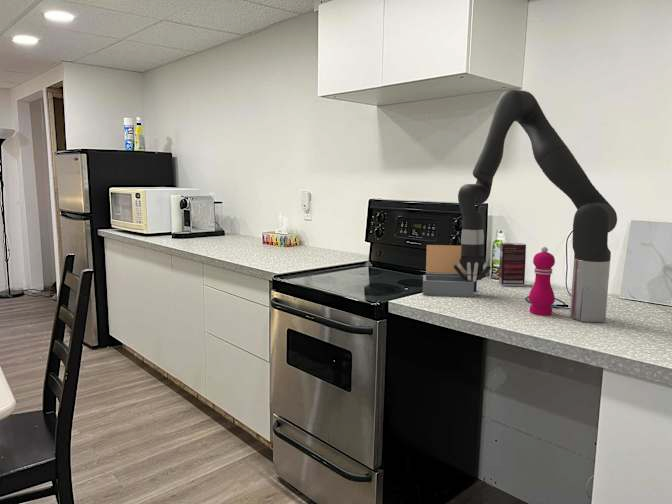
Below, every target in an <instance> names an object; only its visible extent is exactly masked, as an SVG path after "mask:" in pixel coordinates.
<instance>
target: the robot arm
mask: <svg viewBox="0 0 672 504" xmlns="http://www.w3.org/2000/svg"><path fill="white" fill-rule="evenodd" d="M514 122H517V123H518V124H519V125H520V127H522V129H523V130H524V131H525V133H526V134H527V136H528V137H529V140H530V144H531V148H532V154H533V158H534V159H535V162H536V163H537V165H538V166H539V168H540V169H541V171H542V172H543V174H544V175H545V176H546V178H548V180H549V181H550V182H551V183H552V184H553V185H554V187H555V186H556V188H558V189H559V190H560V191H561V192H562V193H563V194H565V196H567V197H568V198H569V199H570V200H571V202H572V203H573V205H574V207H575V208H576V212H575V214H574V216H573V222H572V250H573V252H574V253H573V271H572V283H571V294H570V295H571V296H570V297H571V298H570V309H569V310H570V311H569V312H570V313H569V317H571V318H572V319H575V320H577V321H580V322H586V323H605V322H606V319H607V304H608V294H609V293H608V291H609V278H610V270H611V269H610V267H611V257H612V256H611V254H612V253H611V250H610V249H609V246H608V241H609V239H608V238H609V237H608V236H609V233H611V232H612V231H614V229H615V228H616V226H617V223H618V216H617V212H616V209H615V208H614V207H613V206H612V205H611V204H610V203H609V202H608V200H606V198H605V197H604V196H603V195H602V194H601V193H600V192H599V190H598V189H597V188H596V186H594V185H593V183H592V182H591V180H590V179H589V177H588V176H587V174H586V172H585V171H584V169H583V168H582V166H581V165H580V163H579V162H578V161H577V159H576V157H575V155H574V154H573V153H572V151H571V150H570V149H569V147H568V145H566V143H565V142H564V140H562V138H561V137H560V135H559V134H558V133H557V131H556V130H555V128H554V127H553V126H552V124H551V123H550V122H549V120H548V118H547V117H546V115H545V113H544V111H543V109H542V107H541V106H540V103H539V102H538V101H537V99H536V97H535V96H534V94H532V93H531V92H530V91H526V90H521V89H520V90H519V89H509V90H506V91H505V92H503V93H502V94H501V95H500V97H499V98H498V100H497V103H496V105H495V109H494V112H493V115H492V120H491V123H490V125H489V130H488V133H487V136H486V139H485V142H484V145H483V148H482V150H481V153H480V155H479V157H478V158H477V161H476V164H475V165H474V167H473V171H472V175H473V177H474V178H475V179H476V182H475V183H468V184H467V183H465V184H463V185H462V186H460V188H459V191H458V192H457V193H458V194H457V200H458V205H459V210H460V213H461V218H462V223H461V226H462V227H461V229H462V230H461V236H460V238H461V239H460V246H461V258H460V260H459V263H457V264H456V265H454V269H455V270H456V271H457V272H458V274H459V275H460V276H461V277H462V279H463V280H466V281H467V282H474V291H475V290H476V281H477V282H478V281H481V280H482V279H483V278H484V277H485V276H486V275H487V273H488V272H489V271H490V269H491V268H492V267H491V265H489V264H487V263H486V260H485V258H484V247H485V245H484V244H485V232H484V214H483V213H482V212H480V211H477V206H478V205H479V206H480V205H482V204H484V203H486V201H488V199H489V197H490V195H491V191H492V186H493V181H494V177H495V175H496V173H497V171H498V169H499V167H500V164H501V162H502V160H503V156H504V149H505V140H506V138H507V135H508V132H509V130H510V128H511V127H512V126H513V124H514ZM476 205H477V206H476ZM460 265H462V267H463V268H464V269H465V271H467V276H465V275H464V274H463V273H462V271H461V270H460V269H461V266H460ZM480 269H482V271H481V272H480V273H479V274H478V272H479V271H480ZM471 280H472V281H471Z"/></svg>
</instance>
